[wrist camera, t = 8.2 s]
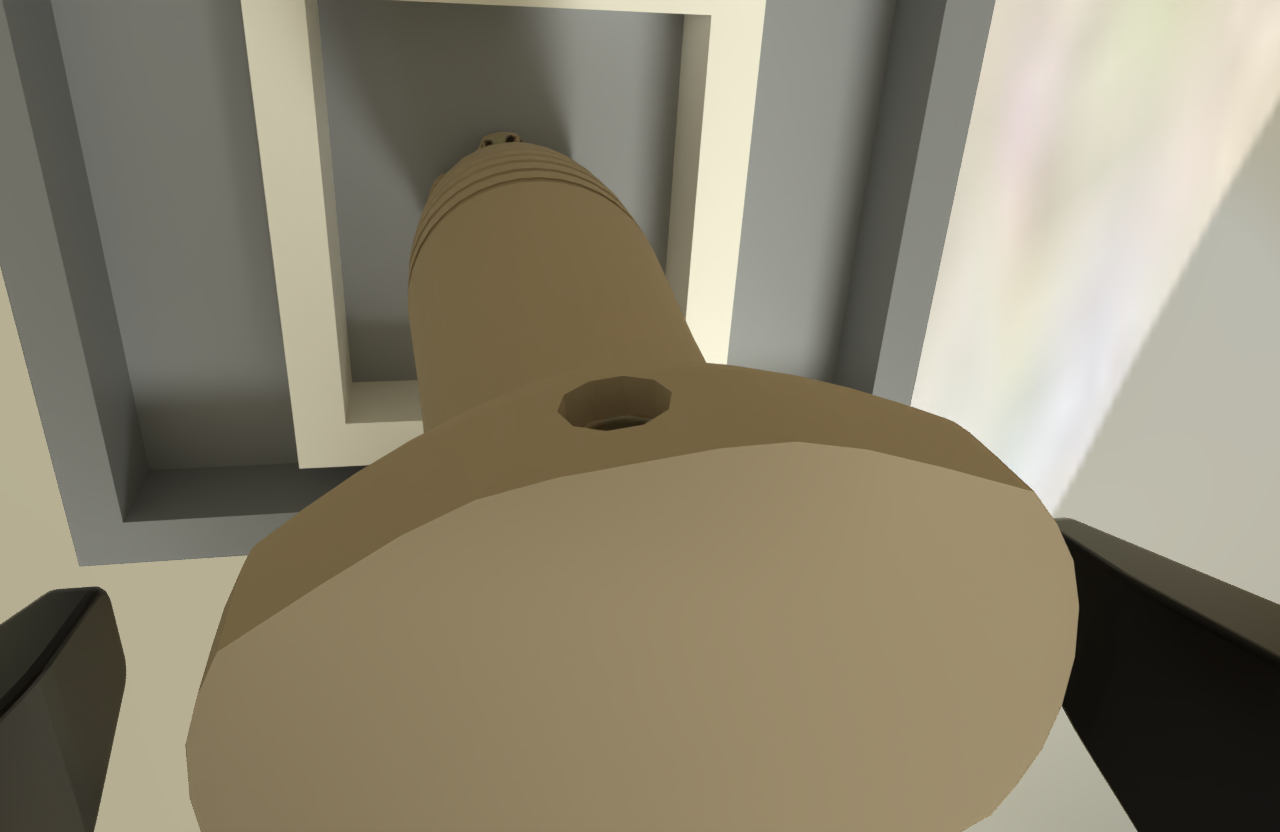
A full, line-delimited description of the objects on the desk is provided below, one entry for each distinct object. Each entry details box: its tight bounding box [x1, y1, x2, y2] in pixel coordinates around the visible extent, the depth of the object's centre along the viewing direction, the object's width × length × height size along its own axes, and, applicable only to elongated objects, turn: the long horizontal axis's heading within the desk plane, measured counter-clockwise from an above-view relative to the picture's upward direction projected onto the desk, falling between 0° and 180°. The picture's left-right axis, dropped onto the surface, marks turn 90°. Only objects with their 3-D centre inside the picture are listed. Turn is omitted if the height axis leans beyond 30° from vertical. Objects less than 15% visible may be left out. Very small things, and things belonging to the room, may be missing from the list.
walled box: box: [0, 0, 995, 566], centre depth 19 cm, size 14×18×2 cm
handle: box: [186, 132, 1079, 832], centre depth 13 cm, size 5×6×15 cm
